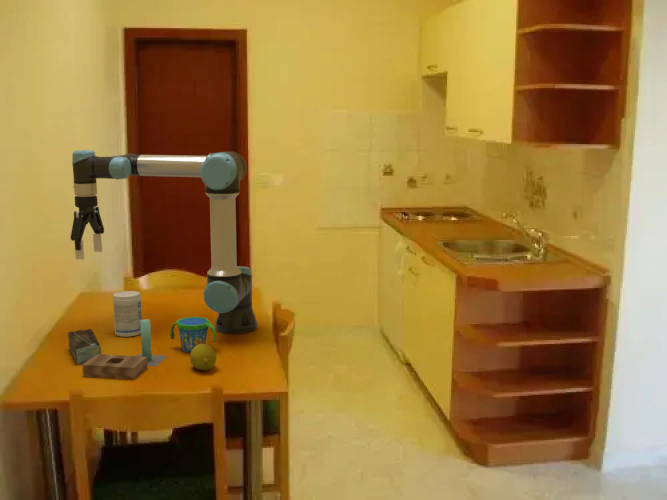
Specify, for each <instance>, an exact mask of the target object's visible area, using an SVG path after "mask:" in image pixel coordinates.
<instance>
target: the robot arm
mask: <svg viewBox="0 0 667 500" xmlns="http://www.w3.org/2000/svg"><path fill="white" fill-rule="evenodd" d="M71 165H72V172H73V175H72V176H73V186H72V188H73V192H74V195H75V196H74V206H75V207H76V208H78V211H77V210H76V211H75V210H74V212H73V222H72V228H71V233H70V240H71V241H72V242H73V241H74V254H75V260H84V259H85V252H84V251H85V250H84V240H82V239H83V237H84V232H85V229H86V226H87V225H88V224H89V225H90V227H91V229H92V230H93V234H92V240H93V241H92V242H93V252H94V253H103V246H102V244H103V243H102V234H104V233H105V227H104V225H103V220H102V217H101V213H100V208H99V206H98V204H99V203H98V196H97V194H98V187H97V185H98V184H97V179H108V180H109V179H111V180H113V179H114V180H127V179H128V178H129V177H132V176H133V177H134V176H135V177H142V176H143V177H173V178H174V177H179V178H180V177H181V178H182V177H183V178H200V179H201V180H202V182H203V184H204V194H205V195H206V196H207V197H208V198H209V212H210V213H209V218H210V219H209V221H210V223H209V224H210V226H209V227H210V258H211V259H210V260H211V261H210V262H211V263H210V264H211V267H210V269H209V270H208V271H207V272H206V275H207V276H206V281H207V283H206V286H205V288H204V291H203V300H204V302H205V304H206V306H207V307H208V308H209V309H210V310H211V311H212V312H216V313H217V317H216V321H215V330H216V332H218V333H219V332H220V333H223V334H232V335H237V334H245V333H246V332H247V333H250V331H251V332H253V330H254V331H255V330H257V329H258V321H257V318H256V314H255V312H254V309H253V275H252V269H251V267H248V266H243V265H242V266H240V265H238V264H237V263H238V262H237V255H238V254H237V218H236V217H237V215H236V213H237V211H236V210H237V209H236V206H237V205H236V201H237V200H236V198H237V196H239V195H240V193H241V181H243V179H244V178H245V176H246V173H247V164H246V160H245V159H244V157H243V156H242V155H240V153H237V152H235V151H231V150H230V151H229V150H227V151H221V152H210V153H208V155H179V154H178V155H176V154H175V155H174V154H173V155H172V154H171V155H170V154H169V155H168V154H134V153H126V154H122V155H114V156H113V155H112V156H96V152H95V151H94V150H89V149H85V150H84V149H83V150H82V149H81V150H80V149H79V150H73V152H72V162H71Z"/></svg>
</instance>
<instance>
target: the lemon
mask: <svg viewBox="0 0 667 500" xmlns="http://www.w3.org/2000/svg"><path fill="white" fill-rule="evenodd" d="M189 354H190V356H189V357H190V359H189V360H190V363H191V365H192V366H193V367H194V368H195V369H196V370H199V371H203V372H207V371H210V370H212V369H213V368H214V366H215V364H216V361H217V354H216V351H215V350H214V348H213V347H212V346H211V345H209V344H207V343H206V344H199V345H197V346H195V347H194V348H193V349H192V351H191V353H189Z"/></svg>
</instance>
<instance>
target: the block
mask: <svg viewBox="0 0 667 500" xmlns="http://www.w3.org/2000/svg"><path fill="white" fill-rule="evenodd" d="M147 369H148V366H147V357H140V356H137V355H120V354H103V353H101V354H97V355H96V356H94V357H93V358H91V359H90V360H89V361H87V362H86V363H84V364H82V377H86V378H103V379H117V380H118V379H119V380H133V381H134V380H136V378H138V377H140V376H141V374H143V373H144V371H146V370H147Z"/></svg>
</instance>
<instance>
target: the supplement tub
mask: <svg viewBox="0 0 667 500" xmlns="http://www.w3.org/2000/svg"><path fill="white" fill-rule="evenodd" d="M112 306H113V323H114V334H115V335H116V336H118V337H123V338H128V337H135V336H138V335H141V323H140V321H141V320H143V317H142V315H143V312H142V297H141V292H139V291H138V290H137V291H136V290H123V291H119V292H115V293H113V295H112Z"/></svg>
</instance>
